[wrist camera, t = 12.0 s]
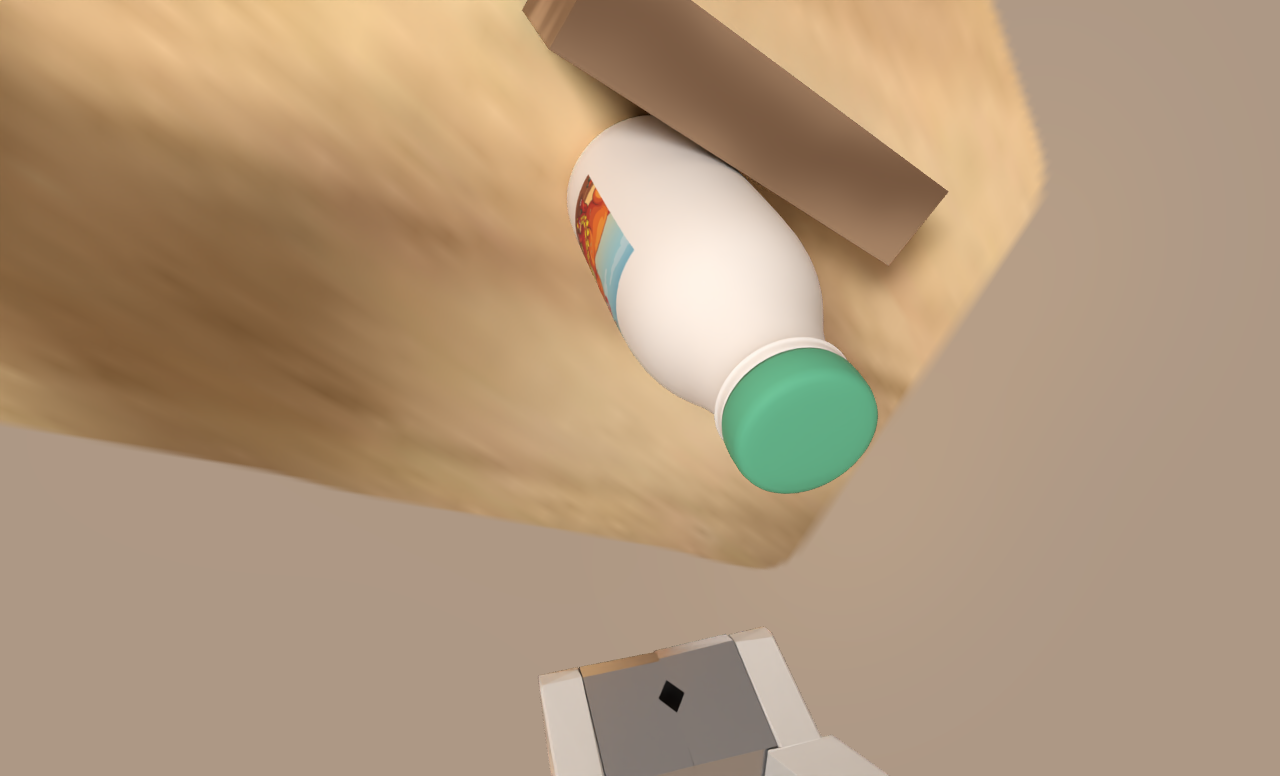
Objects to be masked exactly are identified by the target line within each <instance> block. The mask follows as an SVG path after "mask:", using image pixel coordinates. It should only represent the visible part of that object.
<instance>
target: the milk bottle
mask: <svg viewBox="0 0 1280 776" xmlns="http://www.w3.org/2000/svg"><path fill="white" fill-rule="evenodd" d="M567 208H568V215H569V219H570V222H571V225H572V228H573V230H574V233H575V236H576V238H577V240H578V243H579V245H580V247H581V249H582V252H583V254H584V256H585V258H586V260H587V263H588V265H589V267H590V269H591V272H592V274H593V276H594V278H595V280H596V283H597V285H598V287H599V289H600V291H601V293H602V295H603V297H604V300H605V302H606V304H607V306H608V308H609V310H610V312H611V314H612V317H613V319H614V321H615V323H616V325H617V327H618V329H619V330H620V332H621V334H622V336H623V338H624V340H625V341H626V343H627V345H628V347H629V349H630V350H631V352H632V353H633V355H634V356H635V358H636V359H637V360H638V361H639V363H640V364H641V365H642V367H643V368H644V369H645V370H646V371H647V372H648V373H649V374H650V375H651V376H652V377H653V378H654V379H655V380H656V381H657V382H658V383H659V384H660V385H662V386H663V387H664V388H666V389H667V390H669V391H670V392H672V393H673V394H675V395H676V396H678V397H680V398H682V399H684V400H686V401H688V402H690V403H693V404H695V405H697V406H700V407H702V408H705V409H706V410H708V411H710V412H711V413H713V414H714V419H715V425H716V428H717V431H718V433H719V435H720V437H721V438H722V440H723V441H724V443H725V445H726V447H727V450H728V452H729V454H730V456H731V458H732V459H733V461H734V463H735V464H736V466H737V468H738V469H739V471H740V472H741V473H742V474H743V476H744V477H746V478H747V479H748V480H749V481H750V482H751V483H753V484H754V485H755V486H757V487H759V488H761V489H763V490H766V491H769V492H774V493H782V494H790V493H799V492H804V491H808V490H812V489H815V488H818V487H820V486H822V485H825V484H827V483H829V482H831V481H832V480H834V479H836V478H837V477H839V476H840V475H842V474H843V473H844V472H846V471H847V470H848V469H849V468H850V467H852V466H853V465H854V464H855V463H856V462H857V460H858V459H859V458H860V457H861V456H862V455H863V453H864V452H865V450H866V449H867V447H868V446H869V444H870V442H871V440H872V438H873V436H874V433H875V430H876V426H877V419H878V411H877V405H876V401H875V398H874V395H873V393H872V390H871V389H870V387H869V385H868V384H867V383H866V381H865V380H864V379H863V377H862V376H861V375H860V373H859V372H858V371H857V370H856V369H855V368H854V367H853V366H852V365H851V364H850V363H849V362H848V361H847V359H846V357H845V356H844V355H843V353H842V352H841V351H840V350H839V349H838V348H836V347H835V346H834V345H832V344H830V343H828V342H826V341H825V337H824V331H823V299H822V293H821V288H820V284H819V280H818V276H817V274H816V271H815V268H814V266H813V263H812V261H811V259H810V257H809V255H808V253H807V252H806V250H805V248H804V247H803V245H802V243H801V241H800V240H799V238H798V237H797V236H796V234H795V233H794V232H793V231H792V229H791V228H790V227H789V226H788V225H787V223H786V222H785V221H784V220H783V219H782V217H781V216H780V215H779V214H778V213H777V212H776V211H775V209H774V208H773V207H772V206H771V205H770V204H769V203H768V202H767V201H766V200H765V199H764V198H763V197H762V196H761V195H760V193H759V192H758V191H757V190H756V189H755V188H754V187H753V186H752V185H751V184H750V183H749V182H748V181H747V180H746V179H745V178H744V177H743V176H742V174H741V173H740V172H739V171H738V170H737V169H736V168H734V167H733V166H731V165H730V164H728V163H726V162H725V161H723V160H722V159H720V158H719V157H717V156H715V155H714V154H712V153H711V152H709V151H708V150H706V149H705V148H703V147H701V146H700V145H698V144H697V143H695V142H694V141H692V140H690V139H689V138H687V137H686V136H684V135H683V134H681V133H679V132H678V131H676V130H675V129H673V128H672V127H670V126H669V125H667V124H665V123H664V122H662V121H661V120H659V119H658V118H656V117H654V116H653V115H644V116H638V117H633V118H629V119H626V120H623V121H621V122H618V123H616V124H614V125H612V126H611V127H609V128H607V129H606V130H604V131H603V132H602V133H600V134H599V135H598V136H597V137H596V138H594V139H593V140H592V141H591V142H590V143H589V145H588V146H587V147H586V148H585V149H584V151H583V152H582V153H581V155H580V157H579V158H578V160H577V162H576V164H575V166H574V168H573V171H572V173H571V176H570V180H569V184H568V190H567Z"/></svg>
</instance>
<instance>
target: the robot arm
mask: <svg viewBox="0 0 1280 776" xmlns="http://www.w3.org/2000/svg"><path fill="white" fill-rule="evenodd" d="M538 681H539V689H540V697H541V705H542V713H543V721H544V729H545V736H546V744H547V751H548V758H549V765H550V771H551V776H889V775H888V774H887V773H885V772H884V771H882V770H881V769H880V768H878V767H877V766H876V765H874V764H873V763H871V762H870V761H869V760H867V759H866V758H864V757H863V756H862V755H860V754H859V753H858V752H856V751H855V750H853V749H852V748H851V747H849V746H848V745H846V744H845V743H843V742H842V741H841V740H840V739H838V738H837V737H835V736H834V735H828V736H823V737H821V734H820V732H819V730H818V728H817V726H816V724H815V722H814V720H813V718H812V716H811V714H810V711H809V709H808V707H807V705H806V703H805V701H804V699H803V697H802V695H801V693H800V691H799V688H798V686H797V684H796V682H795V680H794V678H793V676H792V674H791V672H790V670H789V668H788V665H787V663H786V661H785V659H784V657H783V655H782V653H781V651H780V649H779V647H778V645H777V642H776V640H775V638H774V636H773V634H772V633H771V632H770V631H769V630H768V629H767V628H766V627H759V628H755V629H751V630H747V631H742V632H739V633H735V634H730V635H726V634H724V635H719V636H715V637H711V638H706V639H702V640H698V641H694V642H690V643H685V644H682V645H677V646H672V647H669V648H664V649H660V650H656V651H654V652H653V653H648V654H642V655H637V656H633V657H628V658H622V659H617V660H612V661H607V662H603V663H597V664H593V665H587V666H582V667H579V668H578V667H575V668H571V669H566V670H561V671H557V672H553V673H548V674H543V675H539V676H538Z"/></svg>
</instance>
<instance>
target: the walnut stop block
mask: <svg viewBox="0 0 1280 776" xmlns="http://www.w3.org/2000/svg"><path fill="white" fill-rule="evenodd" d="M523 12H524V13H525V15H526V16H527V18H528V19H529V21H530V22H531V24H532V25H533V26H534V28H535V29H536V31H537V32H538V34H539V35H540V37H541V38H542V40H543V41H544V43H545V44H546V45H547V47H548V48H549V50H551V51H553V52H554V53H556V54H557V55H559V56H560V57H562V58H564V59H565V60H567V61H568V62H570V63H571V64H573V65H575V66H576V67H578V68H579V69H581V70H582V71H584V72H586V73H587V74H589V75H590V76H592V77H593V78H595V79H596V80H598V81H600V82H601V83H603V84H604V85H606V86H607V87H609V88H611V89H612V90H614V91H615V92H617V93H618V94H620V95H622V96H623V97H625V98H626V99H628V100H629V101H631V102H632V103H634V104H636V105H637V106H639V107H640V108H642V109H643V110H645V111H647V112H648V113H650V114H651V115H653V116H654V117H656V118H658V119H659V120H661V121H662V122H664V123H665V124H667V125H669V126H670V127H672V128H673V129H675V130H676V131H678V132H679V133H681V134H683V135H684V136H686V137H687V138H689V139H690V140H692V141H694V142H695V143H697V144H698V145H700V146H701V147H703V148H705V149H706V150H708V151H709V152H711V153H712V154H714V155H715V156H717V157H719V158H720V159H722V160H723V161H725V162H726V163H728V164H730V165H731V166H733V167H734V168H736V169H737V170H739V171H741V172H742V173H744V174H745V175H747V176H748V177H750V178H752V179H753V180H755V181H756V182H758V183H759V184H761V185H762V186H764V187H766V188H767V189H769V190H770V191H772V192H773V193H775V194H777V195H778V196H780V197H781V198H783V199H784V200H786V201H788V202H789V203H791V204H792V205H794V206H795V207H797V208H798V209H800V210H802V211H803V212H805V213H806V214H808V215H809V216H811V217H813V218H814V219H816V220H817V221H819V222H820V223H822V224H824V225H825V226H827V227H828V228H830V229H831V230H833V231H835V232H836V233H838V234H839V235H841V236H842V237H844V238H845V239H847V240H849V241H850V242H852V243H853V244H855V245H856V246H858V247H860V248H861V249H863V250H864V251H866V252H867V253H869V254H871V255H872V256H874V257H875V258H877V259H878V260H880V261H882V262H883V263H885V264H886V265H888V266H889V265H890V264H891V262H892V261H893V260H894V259H895V257H896V256H897V255H898V254H899V253H900V251H901V250H902V249H903V248H904V246H905V245H906V244H907V243H908V241H909V240H910V239H911V238H912V236H913V235H914V234H915V233H916V231H917V230H918V229H919V228H920V226H921V225H922V224H923V223H924V222H925V220H926V219H927V218H928V217H929V215H930V214H931V213H932V212H933V210H934V209H935V208H936V207H937V205H938V204H939V203H940V202H941V200H942V199H943V198H944V197H945V195H946V194H947V193H948V191H947V190H946V189H944V188H943V187H942V186H940V185H939V184H937V183H936V182H935V181H933V180H932V179H931V178H929V177H928V176H927V175H925V174H924V173H923V172H921V171H920V170H919V169H917V168H916V167H915V166H913V165H912V164H911V163H909V162H908V161H907V160H905V159H904V158H903V157H901V156H900V155H898V154H897V153H896V152H894V151H893V150H892V149H890V148H889V147H888V146H886V145H885V144H884V143H882V142H881V141H880V140H878V139H877V138H876V137H874V136H873V135H872V134H870V133H869V132H868V131H866V130H865V129H864V128H862V127H861V126H859V125H858V124H857V123H855V122H854V121H853V120H851V119H850V118H849V117H847V116H846V115H845V114H843V113H842V112H841V111H839V110H838V109H837V108H835V107H834V106H833V105H831V104H830V103H829V102H827V101H826V100H825V99H823V98H822V97H820V96H819V95H818V94H816V93H815V92H814V91H812V90H811V89H810V88H808V87H807V86H806V85H804V84H803V83H802V82H800V81H799V80H798V79H796V78H795V77H794V76H792V75H791V74H790V73H788V72H787V71H786V70H784V69H783V68H781V67H780V66H779V65H777V64H776V63H775V62H773V61H772V60H771V59H769V58H768V57H767V56H765V55H764V54H763V53H761V52H760V51H759V50H757V49H756V48H755V47H753V46H752V45H751V44H749V43H748V42H747V41H745V40H744V39H742V38H741V37H740V36H738V35H737V34H736V33H734V32H733V31H732V30H730V29H729V28H728V27H726V26H725V25H724V24H722V23H721V22H720V21H718V20H717V19H716V18H714V17H713V16H712V15H710V14H709V13H708V12H706V11H705V10H703V9H702V8H701V7H699V6H698V5H697V4H695V3H694V2H693V1H691V0H528V1H527V2H526V4H525V6H524V8H523Z"/></svg>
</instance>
